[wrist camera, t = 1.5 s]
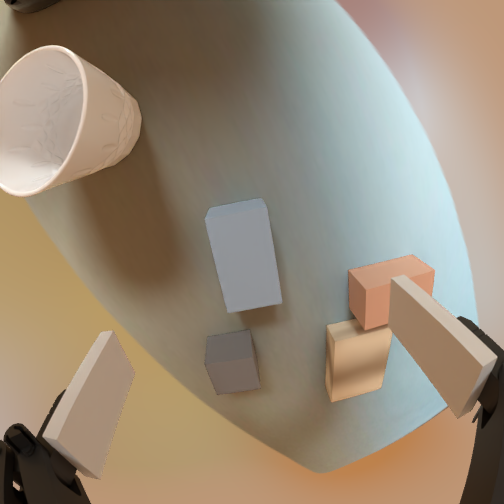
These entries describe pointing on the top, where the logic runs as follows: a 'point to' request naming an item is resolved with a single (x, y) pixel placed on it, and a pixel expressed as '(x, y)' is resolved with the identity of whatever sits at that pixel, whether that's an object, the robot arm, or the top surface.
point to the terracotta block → (383, 287)
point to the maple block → (355, 358)
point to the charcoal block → (232, 362)
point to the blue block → (244, 254)
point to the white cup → (61, 121)
